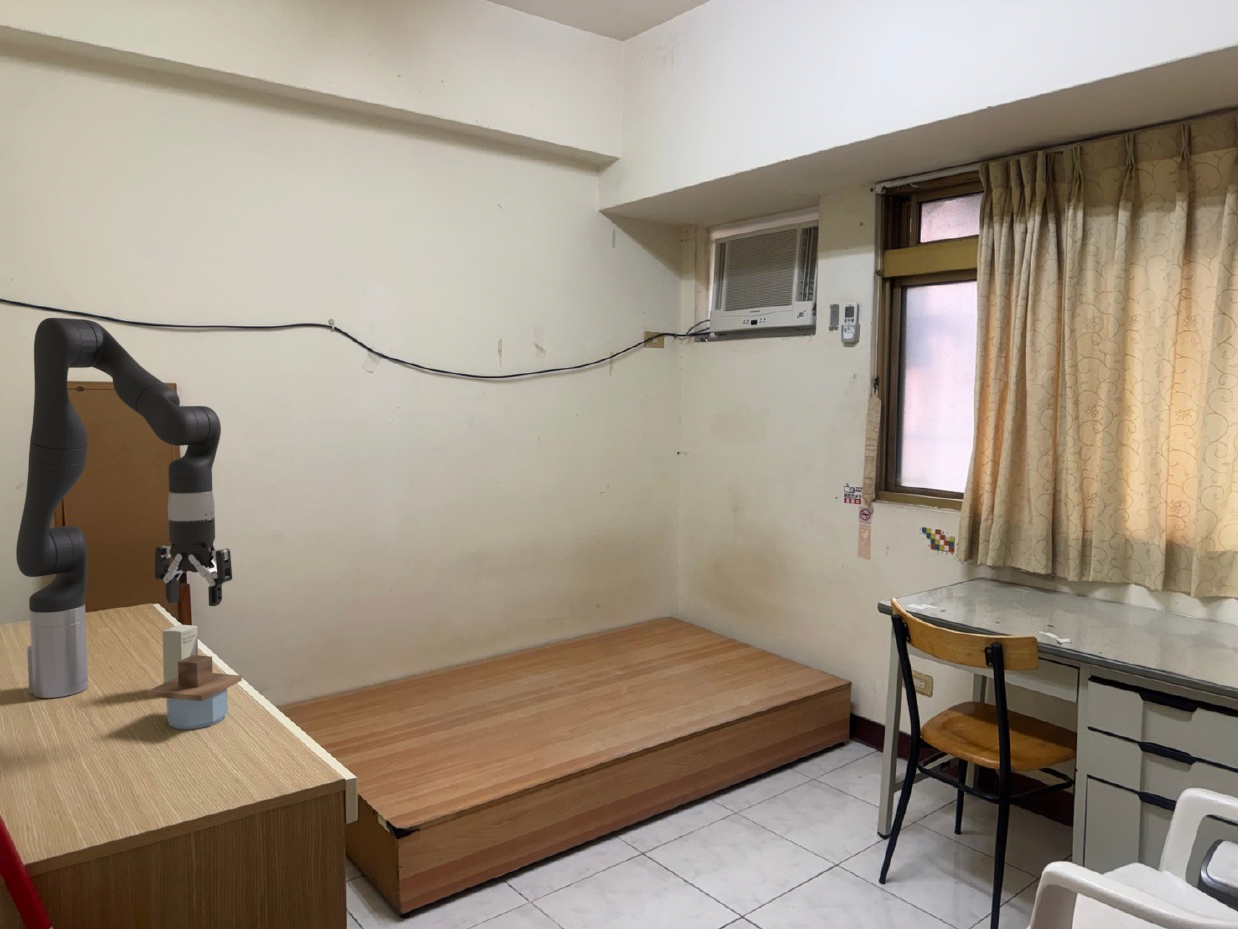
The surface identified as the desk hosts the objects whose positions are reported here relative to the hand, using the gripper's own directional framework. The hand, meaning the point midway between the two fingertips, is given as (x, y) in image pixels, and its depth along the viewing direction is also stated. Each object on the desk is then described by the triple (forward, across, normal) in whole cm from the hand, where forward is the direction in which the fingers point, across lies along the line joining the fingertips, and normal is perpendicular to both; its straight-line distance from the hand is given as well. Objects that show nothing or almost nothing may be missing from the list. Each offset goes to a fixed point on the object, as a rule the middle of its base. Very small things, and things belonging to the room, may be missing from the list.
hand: (194, 603), depth 151 cm
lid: (+16, 0, 0) cm, 16 cm away
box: (+22, -14, +13) cm, 29 cm away
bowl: (+22, 0, 0) cm, 22 cm away
